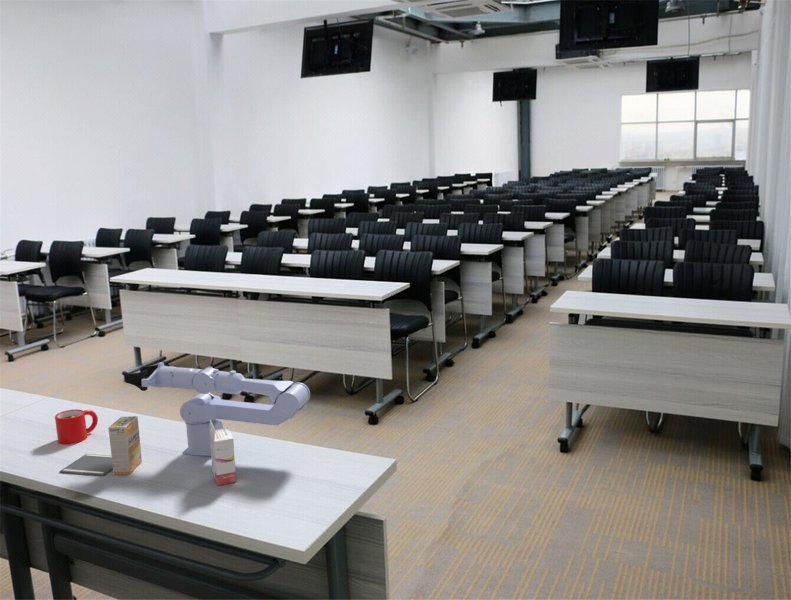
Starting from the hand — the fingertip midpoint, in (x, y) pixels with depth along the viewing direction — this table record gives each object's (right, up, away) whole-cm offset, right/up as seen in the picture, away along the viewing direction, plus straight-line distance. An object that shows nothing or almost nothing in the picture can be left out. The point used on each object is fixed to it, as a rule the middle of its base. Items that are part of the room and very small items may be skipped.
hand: (132, 374), depth 195 cm
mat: (-7, -23, -8) cm, 26 cm away
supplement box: (+3, -24, -10) cm, 26 cm away
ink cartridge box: (+30, -25, -17) cm, 42 cm away
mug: (-20, -20, +11) cm, 31 cm away
